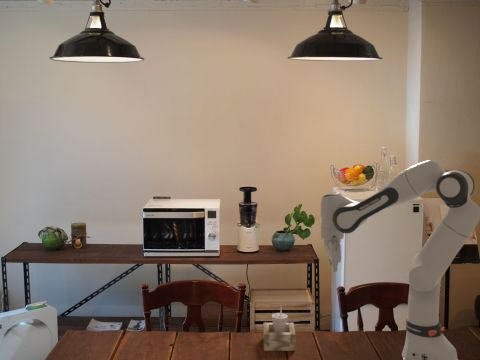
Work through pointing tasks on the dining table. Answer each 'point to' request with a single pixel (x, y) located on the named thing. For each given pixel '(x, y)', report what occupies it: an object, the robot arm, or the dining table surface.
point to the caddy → (279, 338)
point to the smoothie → (279, 321)
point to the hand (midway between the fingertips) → (332, 267)
